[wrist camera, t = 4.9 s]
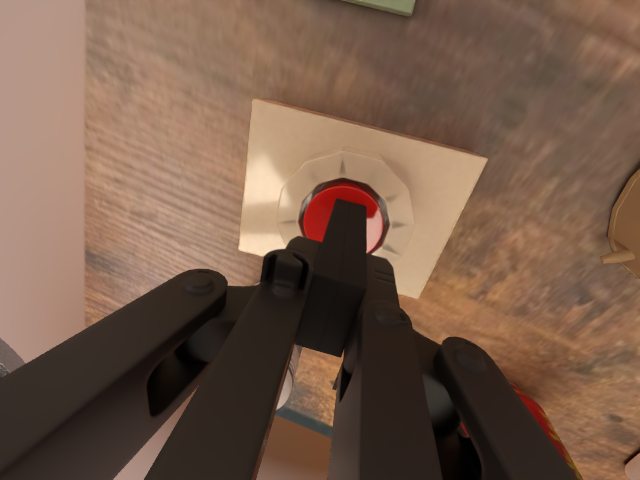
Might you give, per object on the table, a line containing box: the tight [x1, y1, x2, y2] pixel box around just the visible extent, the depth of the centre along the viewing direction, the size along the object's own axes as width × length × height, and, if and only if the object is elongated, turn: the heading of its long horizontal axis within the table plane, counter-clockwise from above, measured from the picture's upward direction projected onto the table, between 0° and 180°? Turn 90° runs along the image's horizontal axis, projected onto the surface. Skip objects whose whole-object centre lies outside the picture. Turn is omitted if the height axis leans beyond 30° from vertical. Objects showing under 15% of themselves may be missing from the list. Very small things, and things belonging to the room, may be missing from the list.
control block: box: [238, 99, 488, 299], centre depth 16 cm, size 12×9×4 cm
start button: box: [304, 178, 383, 253], centre depth 15 cm, size 4×4×2 cm
